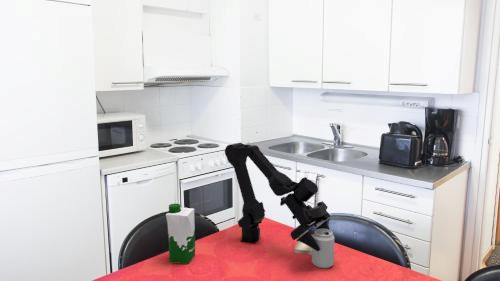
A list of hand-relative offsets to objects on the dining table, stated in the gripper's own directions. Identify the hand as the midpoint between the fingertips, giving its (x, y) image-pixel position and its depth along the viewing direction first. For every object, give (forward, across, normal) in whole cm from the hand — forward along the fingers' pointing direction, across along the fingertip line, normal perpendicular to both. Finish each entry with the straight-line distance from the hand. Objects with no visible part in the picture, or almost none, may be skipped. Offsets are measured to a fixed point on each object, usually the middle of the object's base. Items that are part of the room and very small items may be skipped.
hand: (325, 245), depth 137 cm
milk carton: (-25, -27, +35) cm, 51 cm away
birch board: (-3, +8, +12) cm, 15 cm away
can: (+4, 0, +6) cm, 7 cm away
